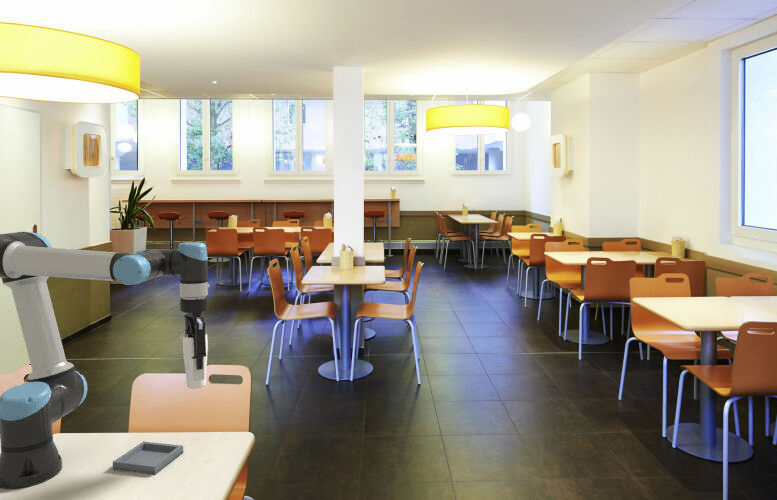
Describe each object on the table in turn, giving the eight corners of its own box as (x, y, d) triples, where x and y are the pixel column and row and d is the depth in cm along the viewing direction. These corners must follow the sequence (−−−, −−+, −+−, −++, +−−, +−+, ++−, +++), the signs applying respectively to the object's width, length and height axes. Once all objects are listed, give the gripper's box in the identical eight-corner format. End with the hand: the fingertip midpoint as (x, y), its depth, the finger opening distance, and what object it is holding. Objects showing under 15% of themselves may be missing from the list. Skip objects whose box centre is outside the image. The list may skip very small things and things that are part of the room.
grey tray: (112, 469, 150) (112, 461, 149) (143, 448, 162) (143, 441, 162) (155, 474, 147) (154, 466, 147) (183, 452, 159) (183, 445, 159)
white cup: (200, 391, 154) (199, 338, 153) (179, 389, 156) (177, 337, 154) (213, 383, 161) (212, 332, 160) (192, 381, 162) (190, 331, 161)
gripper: (217, 301, 150) (218, 383, 152) (199, 291, 166) (200, 365, 168) (188, 303, 146) (190, 388, 148) (172, 293, 162) (174, 369, 164)
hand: (196, 376), depth 158 cm, fingers closed on white cup, 6 cm apart
